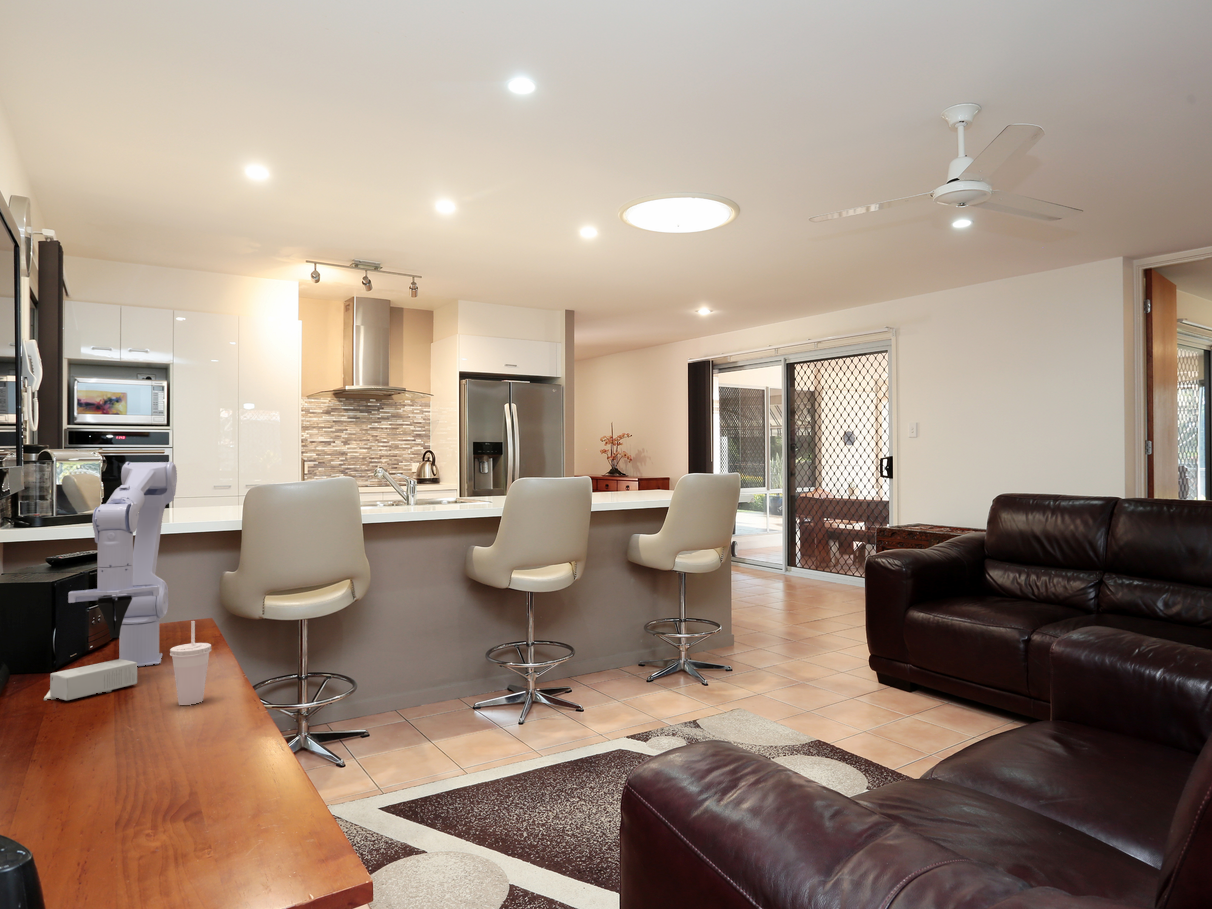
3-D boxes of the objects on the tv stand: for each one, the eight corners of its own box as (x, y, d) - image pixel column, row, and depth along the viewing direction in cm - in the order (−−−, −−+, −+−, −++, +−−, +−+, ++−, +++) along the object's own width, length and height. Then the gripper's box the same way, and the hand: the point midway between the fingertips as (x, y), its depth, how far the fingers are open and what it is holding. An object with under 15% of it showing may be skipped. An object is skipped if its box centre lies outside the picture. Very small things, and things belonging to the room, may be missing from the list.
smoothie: (219, 697, 132) (219, 618, 132) (196, 708, 125) (196, 625, 126) (185, 696, 132) (185, 618, 133) (160, 708, 126) (161, 625, 126)
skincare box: (121, 680, 143) (49, 696, 132) (121, 658, 143) (49, 672, 132) (138, 684, 139) (65, 701, 129) (138, 661, 140) (66, 676, 129)
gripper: (65, 570, 136) (65, 645, 135) (158, 565, 143) (158, 636, 142) (71, 566, 142) (71, 638, 141) (160, 561, 149) (159, 629, 148)
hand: (115, 636), depth 142 cm, fingers closed
